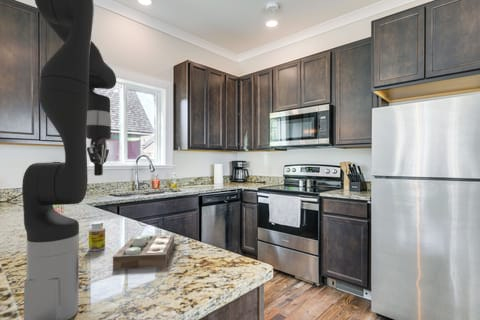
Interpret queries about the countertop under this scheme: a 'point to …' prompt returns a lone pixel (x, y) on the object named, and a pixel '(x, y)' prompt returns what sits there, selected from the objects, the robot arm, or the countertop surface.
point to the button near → (133, 250)
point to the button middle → (139, 241)
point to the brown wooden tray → (146, 254)
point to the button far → (147, 237)
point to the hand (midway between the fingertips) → (98, 175)
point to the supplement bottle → (96, 236)
